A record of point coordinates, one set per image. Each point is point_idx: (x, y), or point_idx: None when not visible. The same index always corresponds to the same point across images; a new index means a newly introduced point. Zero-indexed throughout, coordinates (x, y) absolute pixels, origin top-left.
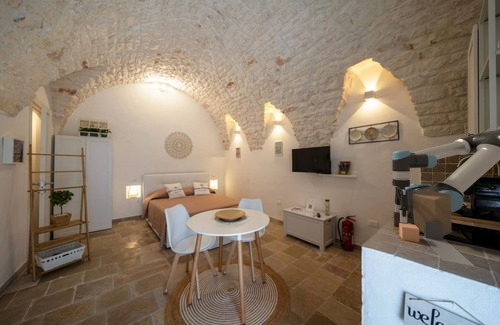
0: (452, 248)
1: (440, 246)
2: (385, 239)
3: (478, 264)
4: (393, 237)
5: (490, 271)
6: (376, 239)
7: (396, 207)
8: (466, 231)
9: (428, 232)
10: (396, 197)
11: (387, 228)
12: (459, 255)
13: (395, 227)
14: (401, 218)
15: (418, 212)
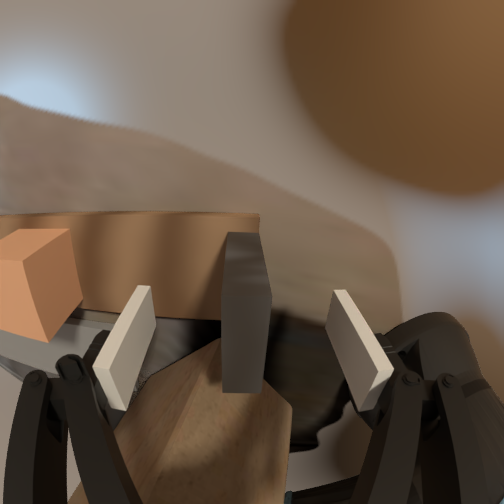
0: (55, 369)
1: (45, 345)
2: (18, 151)
3: (19, 367)
4: (56, 192)
5: (4, 366)
6: (7, 113)
7: (365, 355)
8: (306, 450)
9: None
10: (401, 477)
11: (215, 179)
12: (18, 356)
13: (217, 236)
14: (126, 311)
15: (147, 446)
